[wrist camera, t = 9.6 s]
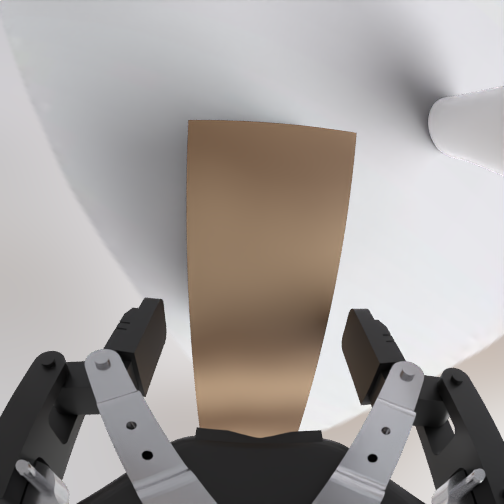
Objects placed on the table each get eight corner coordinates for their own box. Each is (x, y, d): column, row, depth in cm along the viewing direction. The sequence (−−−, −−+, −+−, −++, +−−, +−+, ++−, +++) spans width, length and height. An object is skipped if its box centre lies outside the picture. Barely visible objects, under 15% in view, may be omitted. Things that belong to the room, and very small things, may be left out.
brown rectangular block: (209, 125, 14) (188, 120, 9) (322, 133, 14) (356, 132, 9) (209, 378, 19) (200, 435, 15) (288, 381, 20) (295, 438, 15)
